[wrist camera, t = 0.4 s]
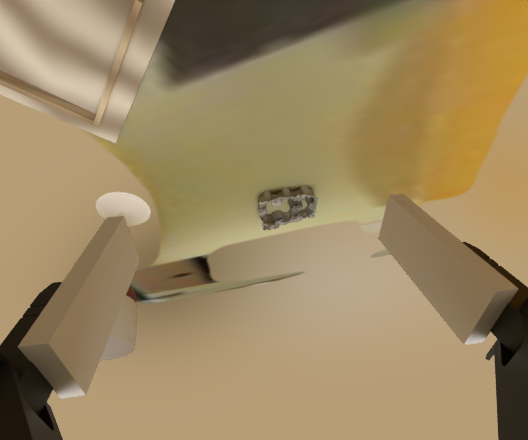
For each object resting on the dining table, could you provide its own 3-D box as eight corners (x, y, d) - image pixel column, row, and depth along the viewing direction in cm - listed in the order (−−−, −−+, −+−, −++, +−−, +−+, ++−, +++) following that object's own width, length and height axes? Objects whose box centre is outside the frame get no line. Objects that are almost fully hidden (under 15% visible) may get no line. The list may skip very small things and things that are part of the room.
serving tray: (-140, -259, 16) (-169, -273, 15) (178, -8, 27) (177, -4, 26) (-101, 49, 27) (-115, 56, 26) (116, 141, 38) (113, 150, 37)
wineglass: (107, 180, 43) (58, 329, 28) (164, 208, 49) (149, 342, 34) (81, 211, 47) (26, 356, 32) (137, 234, 53) (113, 363, 38)
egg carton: (258, 216, 55) (260, 232, 52) (256, 188, 49) (259, 204, 47) (310, 210, 56) (315, 225, 53) (315, 182, 50) (321, 197, 47)
